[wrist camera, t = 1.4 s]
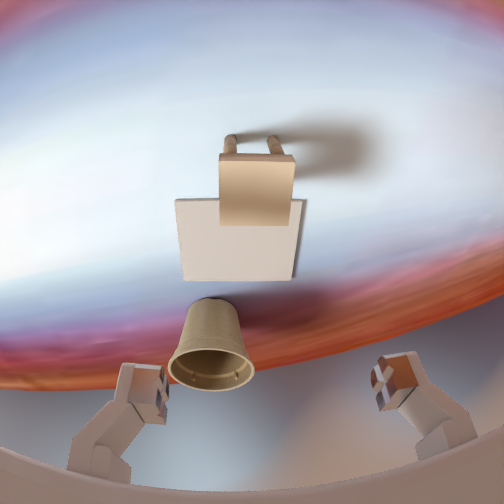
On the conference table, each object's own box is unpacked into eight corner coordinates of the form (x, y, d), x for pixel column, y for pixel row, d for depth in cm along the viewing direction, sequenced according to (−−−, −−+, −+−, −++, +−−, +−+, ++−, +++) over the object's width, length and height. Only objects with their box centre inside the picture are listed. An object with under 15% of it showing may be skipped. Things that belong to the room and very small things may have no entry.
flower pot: (264, 302, 38) (271, 361, 31) (230, 343, 43) (231, 397, 36) (192, 276, 35) (184, 338, 28) (166, 323, 40) (158, 379, 33)
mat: (175, 199, 29) (174, 201, 28) (301, 200, 30) (302, 201, 29) (184, 278, 35) (183, 281, 34) (290, 278, 36) (290, 280, 35)
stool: (222, 132, 25) (218, 160, 20) (281, 133, 25) (295, 162, 20) (222, 184, 28) (219, 226, 23) (277, 185, 28) (288, 226, 23)
